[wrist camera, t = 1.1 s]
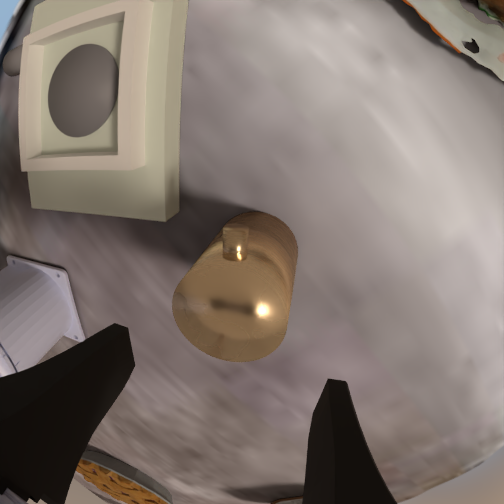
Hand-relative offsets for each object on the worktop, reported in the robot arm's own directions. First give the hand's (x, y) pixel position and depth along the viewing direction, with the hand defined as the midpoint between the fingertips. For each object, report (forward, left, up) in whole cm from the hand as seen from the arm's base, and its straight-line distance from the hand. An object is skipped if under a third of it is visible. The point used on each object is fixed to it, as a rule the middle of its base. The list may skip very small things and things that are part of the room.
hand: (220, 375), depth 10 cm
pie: (-23, -52, -11) cm, 58 cm away
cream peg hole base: (-13, +10, -10) cm, 19 cm away
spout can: (-1, 0, -10) cm, 10 cm away
